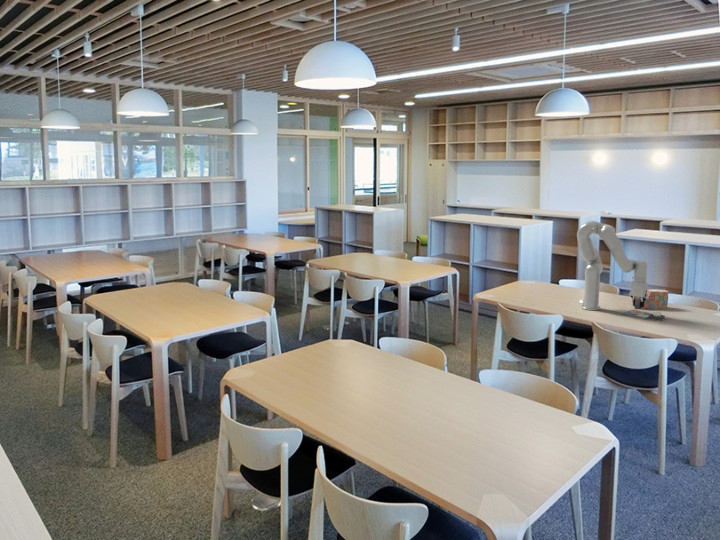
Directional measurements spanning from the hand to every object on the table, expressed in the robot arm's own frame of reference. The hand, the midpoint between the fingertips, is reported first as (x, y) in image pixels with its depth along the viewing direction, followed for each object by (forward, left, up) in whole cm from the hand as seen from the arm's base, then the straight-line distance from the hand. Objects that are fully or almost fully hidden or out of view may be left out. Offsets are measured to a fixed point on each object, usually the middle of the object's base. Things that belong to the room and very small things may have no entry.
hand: (638, 306), depth 393 cm
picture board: (+2, -2, -5) cm, 6 cm away
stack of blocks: (-5, +21, -6) cm, 23 cm away
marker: (0, 0, -2) cm, 2 cm away
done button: (+15, -2, -3) cm, 15 cm away
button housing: (+15, -2, -5) cm, 16 cm away
